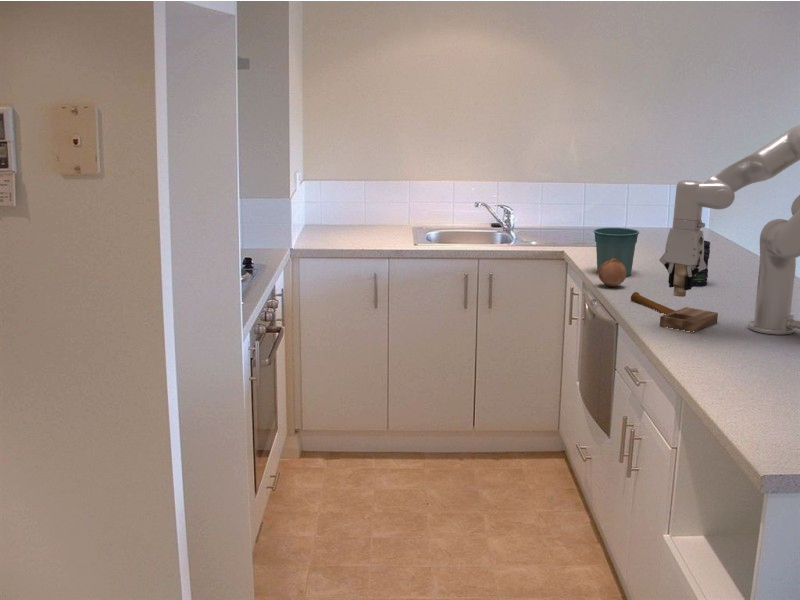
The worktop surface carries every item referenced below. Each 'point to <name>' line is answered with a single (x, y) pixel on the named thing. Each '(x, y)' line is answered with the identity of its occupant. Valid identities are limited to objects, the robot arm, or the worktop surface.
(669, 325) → the board
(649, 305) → the primitive tool
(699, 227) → the robot arm
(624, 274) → the onion
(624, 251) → the flower pot
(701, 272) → the storage jar
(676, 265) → the peg
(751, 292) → the worktop surface
